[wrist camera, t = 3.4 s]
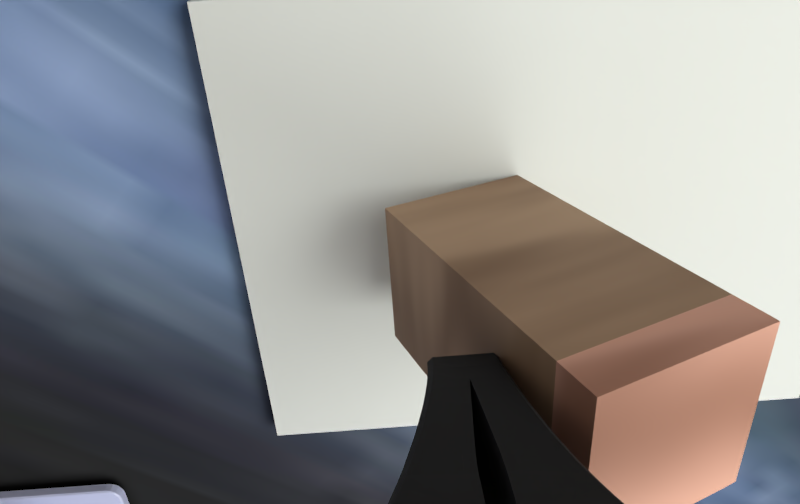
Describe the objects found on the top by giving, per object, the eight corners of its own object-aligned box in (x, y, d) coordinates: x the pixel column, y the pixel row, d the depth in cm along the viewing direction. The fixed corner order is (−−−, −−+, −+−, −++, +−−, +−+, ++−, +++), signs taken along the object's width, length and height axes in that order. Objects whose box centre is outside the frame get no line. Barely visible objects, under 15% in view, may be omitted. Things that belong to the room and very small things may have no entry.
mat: (790, 387, 22) (798, 397, 22) (279, 425, 22) (277, 435, 22) (926, -53, 16) (941, -51, 15) (192, -1, 15) (187, 2, 15)
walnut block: (513, 296, 19) (735, 481, 13) (394, 335, 18) (577, 564, 12) (517, 175, 17) (780, 320, 11) (384, 207, 16) (597, 397, 10)
